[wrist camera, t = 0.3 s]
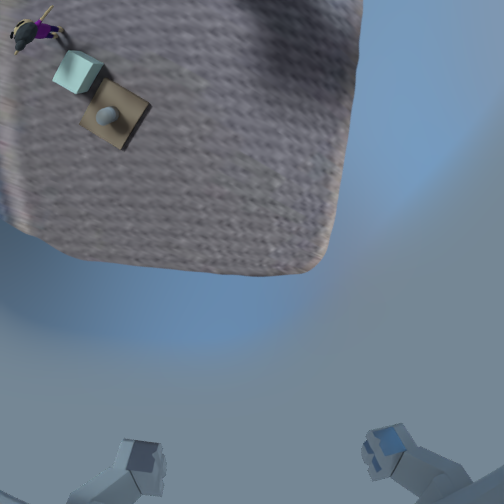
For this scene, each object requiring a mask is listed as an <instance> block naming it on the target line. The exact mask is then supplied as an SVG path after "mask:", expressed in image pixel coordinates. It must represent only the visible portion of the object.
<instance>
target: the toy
mask: <svg viewBox="0 0 504 504" xmlns="http://www.w3.org/2000/svg"><path fill="white" fill-rule="evenodd" d="M53 7H54V6H53V5H52V6H50V8H49V9H48V10H47V11H46V12H45V13H44V15H43V16H42V17H41V18H40V19H39V20H38V21H37V22H35V23H34V22H33V21H32V20H29V19H25V20H22V21H20V22H19V23H18V24H17V25H16V27H15V29H14V32H11V35H10V38H11V39H12V38H13V34H14V35H15V37H14V39H15V42H16V43H17V44H16V46H15V49H16V52H15V54H14V55H17V53H18V52H19V51H21V50H23V49H24V48H25V46H26V44H28V43H30V42H32V41H33V39H34V38H37V39H44V38H58V35H57V34H56V33H55V32H63V28H61V27H60V26H58V27H56V26H50V25H48V24H43V23H41V22H42V21H43V19H44V18H45V17H46V15H47V14H48V13H49V12H50V11H51V9H52V8H53ZM49 32H53V33H49Z"/></svg>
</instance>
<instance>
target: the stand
mask: <svg viewBox="0 0 504 504" xmlns="http://www.w3.org/2000/svg"><path fill="white" fill-rule="evenodd" d="M148 105H149V102H147V101H145V100H144V99H142V98H140V97H139V96H137V95H135V94H134V93H132V92H130V91H129V90H127V89H125V88H124V87H122V86H120V85H119V84H117V83H115V82H113V81H112V80H110V79H108V78H104V79H103V81H102V83H101V84H100V86H99V88H98V90H97V91H96V93H95V95H94V97H93V99H92V100H91V102H90V104H89V106H88V108H87V110H86V112H85V114H84V115H83V117H82V119H81V121H80V123H79V125H81V126H82V127H84V128H86V129H87V130H89V131H91V132H92V133H94V134H95V135H97V136H99V137H100V138H102V139H104V140H105V141H107V142H109V143H110V144H112V145H113V146H115V147H117V148H118V149H120V150H121V149H122V147H123V146H124V144H125V142H126V140H127V139H128V137H129V135H130V134H131V132H132V130H133V129H134V127H135V125H136V124H137V122H138V120H139V119H140V117H141V116H142V114H143V113H144V111H145V109H146V108H147V106H148Z"/></svg>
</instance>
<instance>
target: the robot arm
mask: <svg viewBox="0 0 504 504" xmlns="http://www.w3.org/2000/svg"><path fill="white" fill-rule="evenodd" d="M366 438H367V440H366V441H365V442H364V443H363V446H362V458H363V461H364V463H366V464H367V465H369V468H368V472H369V475H370V477H371V479H372V481H377V480H381V479H385V478H388V477H391V478H392V479H393V480H394V481H396V482H397V483H399V484H400V485H402V486H403V487H405V488H406V489H407V490H409V491H411V492H412V493H413V494H415V495H416V496H418V497H419V499H418V500H417V502H416V503H415V504H504V465H503V466H501V467H500V468H498V469H496V470H495V471H493V472H491V473H490V474H488V475H486V476H485V477H483V478H481V479H479V480H478V481H476V482H474V483H473V481H472V480H471V479H470V477H469V475H468V474H467V473H466V471H465V470H464V468H463V467H462V465H460V464H458V463H456V462H454V461H451V460H449V459H447V458H445V457H442V456H440V455H438V454H436V453H434V452H432V451H429V450H427V449H425V448H423V447H417V445H416V443H415V442H414V440H413V438H412V437H411V435H410V434H409V432H408V431H407V429H406V428H405V426H404V425H403V424H402V423H399V424H395V425H391V426H386V427H382V428H378V429H373V430H369V431H368V432H367V434H366ZM162 450H163V448H162V445H161V443H153V442H146V441H145V442H144V441H138V440H130V439H123V440H122V441H121V444H120V447H119V450H118V453H117V456H116V459H115V462H114V465H113V468H112V467H109V468H107V469H106V470H105V471H103V472H102V473H100V474H99V475H97V476H96V477H94V478H93V479H91V480H90V481H89V482H87V483H86V484H84V485H83V486H81V487H80V488H78V489H76V490H75V491H73V492H72V493H71V494H70V496H69V498H68V501H67V504H133V503H134V502H136V500H138V499H139V498H140V497H141V494H142V495H150V496H160V497H161V496H162V494H163V488H164V483H163V480H162V478H163V477H165V475H166V459H165V456H164V454H162ZM0 504H29V503H26V502H24V501H22V500H20V499H18V498H15V497H13V496H11V495H9V494H7V493H5V492H3V491H1V490H0Z"/></svg>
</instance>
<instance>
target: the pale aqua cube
mask: <svg viewBox="0 0 504 504" xmlns="http://www.w3.org/2000/svg"><path fill="white" fill-rule="evenodd" d="M103 64H104V63H102V62H100V61H98V60H96V59H95V58H93V57H91V56H89V55H87V54H85V53H83V52H81V51H72V50H68V52H67V53H66V55H65V57H64V59H63V61H62V63H61V64H60V66H59V68H58V70H57V72H56V74H55V76H54V78H53V80H52V81H54V82H56V83H58V84H59V85H61V86H63V87H65V88H66V89H68V90H70V91H72V92H73V93H75V94H79V93H83V92H88V90H89V88H90V86H91V85H92V83H93V81H94V79H95V78H96V76H97V74H98V73H99V71H100V69H101V68H102V66H103Z"/></svg>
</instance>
